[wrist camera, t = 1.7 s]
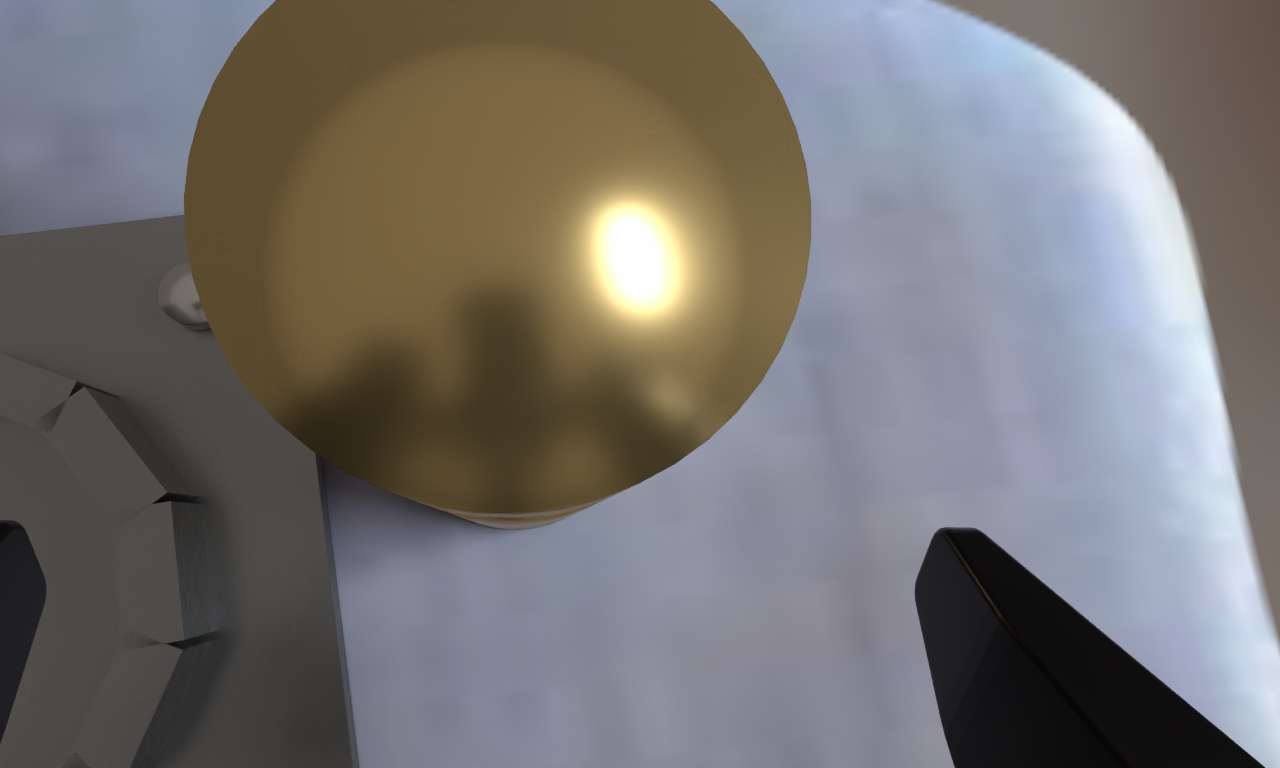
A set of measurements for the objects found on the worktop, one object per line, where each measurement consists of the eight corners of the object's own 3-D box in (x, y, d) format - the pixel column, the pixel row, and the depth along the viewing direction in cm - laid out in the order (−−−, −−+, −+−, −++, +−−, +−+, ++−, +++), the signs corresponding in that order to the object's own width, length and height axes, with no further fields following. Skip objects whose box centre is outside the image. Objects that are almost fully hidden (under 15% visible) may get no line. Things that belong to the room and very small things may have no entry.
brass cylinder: (643, 509, 20) (865, 456, 7) (420, 547, 19) (220, 564, 6) (607, 297, 20) (752, -103, 8) (391, 327, 20) (155, -59, 7)
